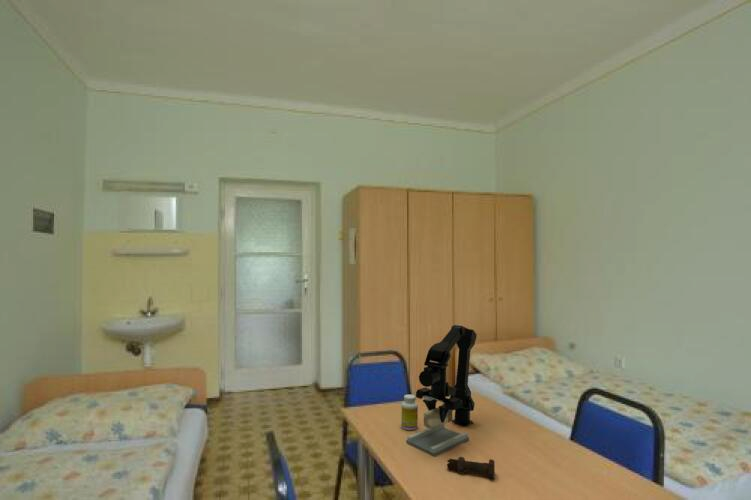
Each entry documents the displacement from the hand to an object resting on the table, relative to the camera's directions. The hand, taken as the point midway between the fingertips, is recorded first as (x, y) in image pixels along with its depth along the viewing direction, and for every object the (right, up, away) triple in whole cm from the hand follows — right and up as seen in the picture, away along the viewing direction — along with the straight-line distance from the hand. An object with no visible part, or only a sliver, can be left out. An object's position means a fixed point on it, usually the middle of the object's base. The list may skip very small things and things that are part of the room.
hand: (438, 420), depth 163 cm
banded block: (0, -1, 0) cm, 1 cm away
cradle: (0, -8, 0) cm, 8 cm away
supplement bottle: (-10, -8, +13) cm, 18 cm away
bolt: (+7, -9, -22) cm, 25 cm away
